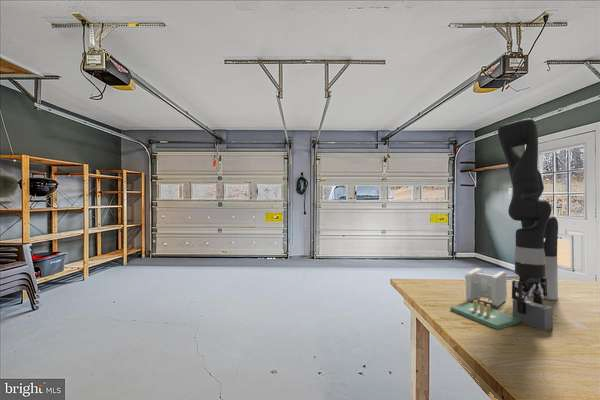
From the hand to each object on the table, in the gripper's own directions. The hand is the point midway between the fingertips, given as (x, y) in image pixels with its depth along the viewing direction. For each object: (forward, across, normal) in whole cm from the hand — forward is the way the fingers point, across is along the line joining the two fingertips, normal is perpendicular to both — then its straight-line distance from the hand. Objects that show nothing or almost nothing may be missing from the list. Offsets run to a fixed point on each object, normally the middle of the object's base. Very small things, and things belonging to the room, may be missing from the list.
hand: (529, 311), depth 87 cm
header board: (+4, +8, -10) cm, 13 cm away
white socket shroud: (+4, -7, -19) cm, 21 cm away
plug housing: (+4, -1, 0) cm, 4 cm away
